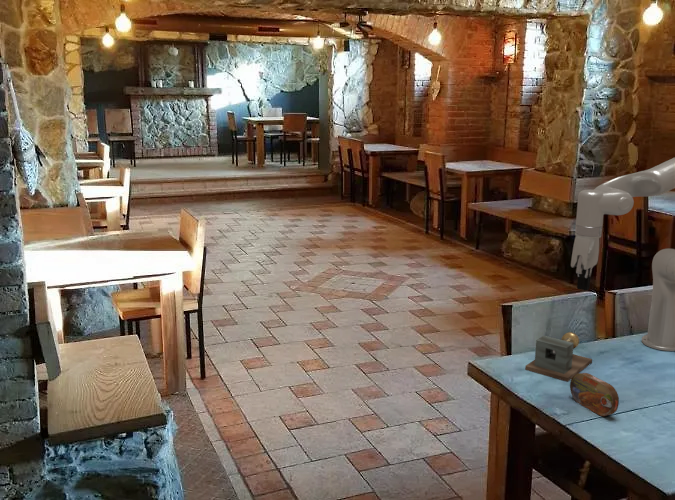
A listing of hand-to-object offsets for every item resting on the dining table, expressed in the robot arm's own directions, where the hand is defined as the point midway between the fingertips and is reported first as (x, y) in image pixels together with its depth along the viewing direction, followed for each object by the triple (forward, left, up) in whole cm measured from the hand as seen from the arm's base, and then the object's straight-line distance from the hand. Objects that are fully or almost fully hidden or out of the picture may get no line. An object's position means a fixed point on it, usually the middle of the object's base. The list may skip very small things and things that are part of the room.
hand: (583, 289), depth 209 cm
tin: (+34, +18, -21) cm, 44 cm away
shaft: (+12, 0, -17) cm, 21 cm away
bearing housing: (+13, 0, -21) cm, 25 cm away
